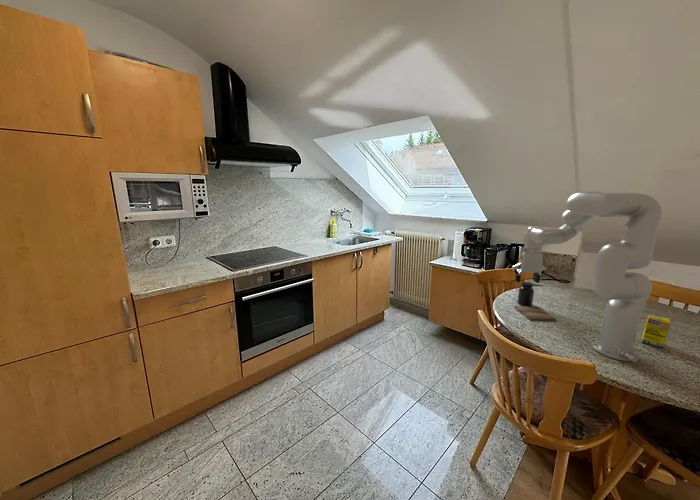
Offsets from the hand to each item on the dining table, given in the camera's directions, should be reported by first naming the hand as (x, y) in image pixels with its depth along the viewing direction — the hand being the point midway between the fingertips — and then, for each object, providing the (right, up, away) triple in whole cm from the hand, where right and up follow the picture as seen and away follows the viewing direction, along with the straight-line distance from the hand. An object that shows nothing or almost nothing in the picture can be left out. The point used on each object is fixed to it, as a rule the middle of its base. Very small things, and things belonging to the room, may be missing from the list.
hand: (526, 281), depth 148 cm
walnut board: (-2, -15, -9) cm, 18 cm away
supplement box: (+28, -21, -35) cm, 50 cm away
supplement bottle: (0, -12, +2) cm, 13 cm away
